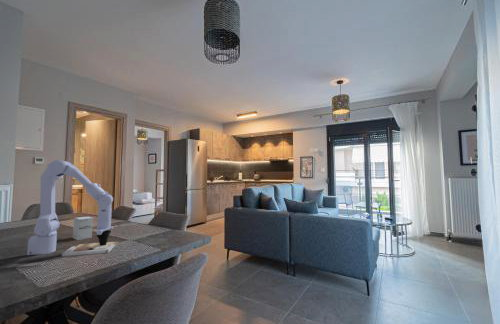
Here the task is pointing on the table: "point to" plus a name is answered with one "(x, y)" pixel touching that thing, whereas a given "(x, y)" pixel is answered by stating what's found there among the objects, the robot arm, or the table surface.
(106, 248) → the cream tile
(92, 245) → the oak board
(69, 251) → the grey tray
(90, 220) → the supplement box
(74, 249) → the terracotta tile
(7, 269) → the table surface
